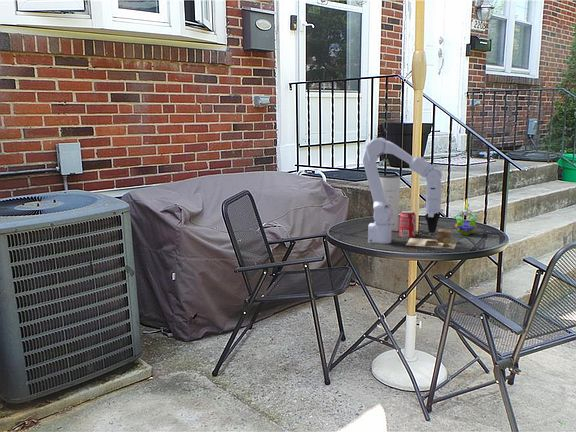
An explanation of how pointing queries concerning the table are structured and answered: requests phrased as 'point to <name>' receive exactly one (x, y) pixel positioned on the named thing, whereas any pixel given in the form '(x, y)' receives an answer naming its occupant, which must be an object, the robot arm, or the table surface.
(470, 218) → the toy helicopter
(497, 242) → the table surface
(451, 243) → the board
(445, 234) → the block
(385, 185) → the white tumbler
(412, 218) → the soda can
